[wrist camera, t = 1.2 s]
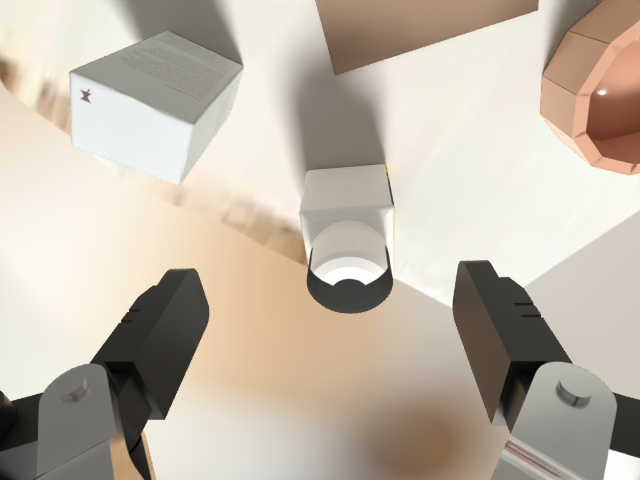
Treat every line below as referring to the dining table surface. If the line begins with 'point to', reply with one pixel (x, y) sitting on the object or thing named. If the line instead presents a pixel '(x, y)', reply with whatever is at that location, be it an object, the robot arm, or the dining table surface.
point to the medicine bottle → (348, 236)
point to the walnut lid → (404, 25)
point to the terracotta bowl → (598, 87)
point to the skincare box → (153, 104)
